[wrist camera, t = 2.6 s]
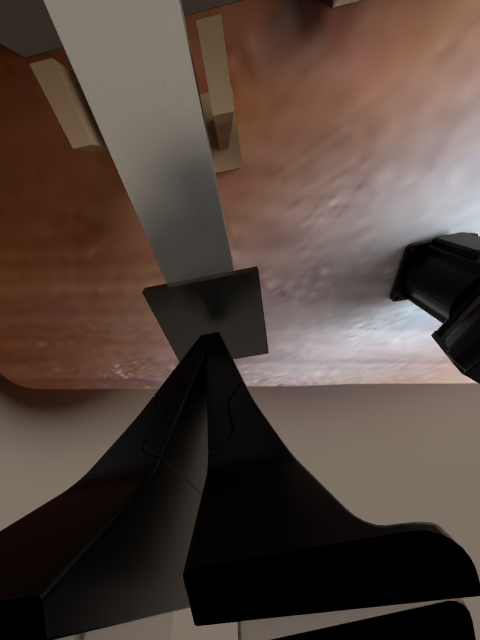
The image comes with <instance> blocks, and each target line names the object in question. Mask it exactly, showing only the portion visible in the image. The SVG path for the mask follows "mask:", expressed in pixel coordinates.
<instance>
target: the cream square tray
mask: <svg viewBox="0 0 480 640" xmlns="http://www.w3.org/2000/svg"><path fill="white" fill-rule="evenodd" d="M357 1H361V0H333V8H334V7H337V6H341V5H345V4H349V3H353V2H357Z"/></svg>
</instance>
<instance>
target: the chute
mask: <svg viewBox="0 0 480 640" xmlns="http://www.w3.org/2000/svg"><path fill="white" fill-rule="evenodd" d="M237 1H241V0H181V3H182V8H183V13H184V15H188V14H192V13H195V12H199V11H203V10H207V9H211V8H214V7H218V6H222V5H226V4H230V3H233V2H237ZM0 44H2V45H4V46H5V47H7V48H9V49H10V50H12V51H14V52H16V53H17V54H19V55H21V56H23V57H24V58H25V57H29V56H33V55H37V54H40V53H44V52H48V51H52V50H55V49H59V48H63V47H64V46H63V44H62V42H61V40H60V37H59V35H58V33H57V30H56V28H55V26H54V23H53V21H52V19H51V17H50V14H49V12H48V10H47V7H46V5H45V3H44V1H43V0H0Z"/></svg>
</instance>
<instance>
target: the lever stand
mask: <svg viewBox="0 0 480 640" xmlns="http://www.w3.org/2000/svg"><path fill="white" fill-rule="evenodd" d="M196 23H197V29H198V34H199V40H200V45H201V51H202V57H203V62H204V68H205V73H206V79H207V84H208V90H209V92H207V93H203V94H200V98H201V103H202V108H203V113H204V118H205V123H206V128H207V133H208V138H209V143H210V148H211V153H212V158H213V163H214V168H215V173H218V172H223V171H227V170H232V169H236V168H241V167H242V161H241V153H240V146H239V138H238V131H237V123H236V115H235V108H234V100H233V93H232V87H231V84H230V76H229V69H228V62H227V54H226V47H225V39H224V32H223V24H222V17H221V14H218V15H214V16H210V17H207V18H203V19H199V20H196ZM30 66H31V68H32V70H33V72H34V74H35V76H36V78H37V80H38V82H39V84H40V86H41V88H42V90H43V91H44V93H45V95H46V97H47V99H48V101H49V103H50V105H51V107H52V109H53V111H54V113H55V115H56V117H57V119H58V120H59V122H60V124H61V126H62V128H63V130H64V132H65V134H66V136H67V138H68V140H69V142H70V144H71V146H72V148H73V149H77V150H84V151H90V152H96V153H102V154H109V155H111V154H110V152H109V150H108V147H107V145H106V143H105V140H104V138H103V136H102V133H101V131H100V129H99V127H98V124H97V122H96V120H95V117H94V115H93V113H92V111H91V108H90V106H89V104H88V101H87V99H86V97H85V95H84V92H83V90H82V88H81V85H80V83H79V81H78V78H77V76H76V74H75V73H74V72H72V71H71V70H69V69H68V68H66V67H65V66H63V65H62V64H60V63H59V62H57V61H56V60H54V59H53V58H50V59H46V60H42V61H39V62H35V63H31V64H30Z"/></svg>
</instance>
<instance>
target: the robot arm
mask: <svg viewBox="0 0 480 640" xmlns="http://www.w3.org/2000/svg"><path fill="white" fill-rule="evenodd" d="M411 249H413V250H412V251H411ZM390 299H391V300H392V301H394V302H396V301H402V300H407V299H408V300H410V301H411V302H413V303H414V304H415V305H417V306H418V307H420V308H421V309H423V310H424V311H426V312H427V313H428V314H430V315H431V316H433V317H434V318H436V319H437V320H439V321H440V322H442V323H443V324H442V325H441V327H440V328H439V329H438V330H437V331H435V332H434V333H433V334H432V335H431V336H432V337H433V338H434V340H435V341H436V342H437V344H438V345H439V346H440V347H441V349H442V350H443V351H444V352H445V354H446V355H447V356H448V358H449V359H450V360H451V361H452V363H453V364H454V365H455V366H456V367H457V368H458V370H459V371H460V372H461V373H462V374H463V375H465V376H468V377H469V378H471V379H472V380H474V381H476V382H478V383H480V237H479V236H478V234H475V233H463V232H461V233H456V234H451V235H446V236H440V237H436V238H434V239H433V240H430V241H425V242H419V243H414V244H410V245H409V246H408V247H407V248H406V250H405V252H404V255H403V259H402V262H401V265H400V268H399V271H398V274H397V277H396V280H395V283H394V286H393V289H392V292H391V295H390ZM474 596H480V582H479V578H478V574H477V571H476V568H475V565H474V564H473V562H472V560H471V558H470V557H469V555H468V554H467V553H466V552H465V550H464V549H463V548H462V547H461V546H460V545H459V544H458V543H457V542H456V541H455V540H454V539H453V538H452V537H451V536H450V535H449V534H447V533H446V532H445V531H444V530H443V529H442V528H441V527H440V526H438V525H437V524H435V523H430V522H410V523H400V524H392V525H375V524H372V523H369V522H366V521H363V520H362V519H360V518H358V517H356V516H355V515H354V514H352V513H351V512H350V511H349V510H348V509H346V508H345V507H344V506H343V505H342V504H341V503H340V502H339V501H338V500H337V499H336V498H335V497H334V496H333V495H332V494H331V493H330V492H329V491H328V490H327V489H326V488H325V487H324V486H323V485H322V484H321V483H320V482H319V481H318V480H317V479H316V478H315V477H314V476H313V475H312V474H311V473H310V472H309V471H308V470H307V469H306V468H305V467H304V466H303V465H302V464H301V463H300V462H299V461H298V460H297V459H296V458H295V457H294V456H293V454H292V453H291V452H290V451H289V449H288V448H287V447H286V445H285V444H284V443H283V442H282V440H281V439H280V437H279V436H278V434H277V433H276V432H275V430H274V429H273V428H272V426H271V425H270V423H269V422H268V420H267V419H266V418H265V416H264V415H263V413H262V412H261V410H260V409H259V407H258V406H257V404H256V403H255V401H254V400H253V398H252V396H251V395H250V392H249V391H248V389H247V387H246V385H245V383H244V381H243V379H242V377H241V375H240V373H239V371H238V369H237V367H236V365H235V363H234V361H233V359H232V357H231V355H230V353H229V351H228V349H227V347H226V345H225V343H224V341H223V339H222V337H221V335H220V333H219V332H215V333H211V334H204V335H201V336H200V337H199V338H198V339H197V341H196V342H195V343H194V344H193V346H192V347H191V348H190V350H189V351H188V352H187V354H186V355H185V356H184V357H183V359H182V360H181V361H180V363H179V364H178V365H177V367H176V368H175V369H174V370H173V372H172V373H171V374H170V376H169V377H168V378H167V380H166V381H165V382H164V383H163V385H162V386H161V387H160V389H159V390H158V391H157V393H156V394H155V397H153V398H152V399H151V400H150V402H149V403H148V404H147V405H146V407H145V408H144V409H143V411H142V412H141V413H140V414H139V415H138V417H137V418H136V419H135V420H134V421H133V422H132V424H131V425H130V426H129V427H128V428H127V429H126V431H125V432H124V433H123V434H122V435H121V436H120V437H119V438H118V440H117V441H116V442H115V443H114V444H113V445H112V446H111V447H110V449H109V450H108V451H107V452H106V453H105V454H104V455H103V456H102V457H101V458H100V460H99V461H98V462H97V463H96V464H95V465H94V466H93V467H92V468H91V470H89V471H88V473H87V474H86V475H84V476H83V478H81V479H80V480H79V481H78V482H77V483H75V484H74V485H73V486H72V487H70V488H69V489H68V490H66V491H65V492H63V493H62V494H60V495H59V496H57V497H55V498H54V499H52V500H50V501H49V502H47V503H46V504H44V505H42V506H41V507H39V508H37V509H36V510H34V511H32V512H31V513H29V514H28V515H26V516H24V517H23V518H21V519H19V520H18V521H16V522H14V523H13V524H11V525H9V526H8V527H6V528H5V529H3V530H1V531H0V640H171V634H172V625H173V616H174V611H178V610H182V609H186V608H190V607H191V612H192V616H193V620H194V624H195V625H196V626H202V625H211V624H220V623H230V622H238V640H476V639H475V633H474V627H473V622H472V618H471V615H470V613H469V610H468V609H467V607H466V606H465V603H464V601H463V600H462V598H464V597H474Z"/></svg>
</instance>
